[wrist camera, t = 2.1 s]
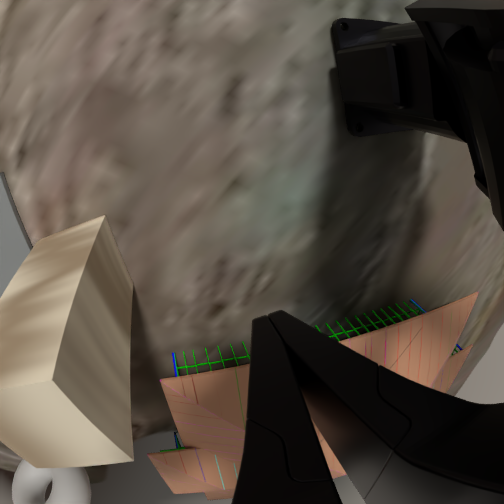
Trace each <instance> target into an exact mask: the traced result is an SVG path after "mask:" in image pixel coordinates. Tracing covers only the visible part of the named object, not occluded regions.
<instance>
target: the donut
mask: <svg viewBox="0 0 504 504" xmlns="http://www.w3.org/2000/svg"><path fill="white" fill-rule="evenodd" d="M51 480H53V486H52V492H51V494H50V497H49V498H48V500H47V501H46V503H45V498H44V497H45V491H46V488H47V486H48V484H49V483H50V481H51ZM12 499H13V502H14V504H90V499H91V488H90V481H89V477H88V474H87V472H86V470H85V468H84V467H68V468H35V467H34V466H32V465H31V464H30V463H28V462H27V461H25V460H24V459H23V460H22V461H21V462H20V464H19V466H18V468H17V470H16V472H15V475H14V480H13V484H12Z"/></svg>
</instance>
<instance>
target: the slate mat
mask: <svg viewBox="0 0 504 504" xmlns="http://www.w3.org/2000/svg"><path fill="white" fill-rule="evenodd" d="M32 249H33V247H32V245H31V242H30V240H29V238H28V236H27V233H26V231H25V229H24V226H23V224H22V222H21V219H20V217H19V214H18V212H17V209H16V207H15V204H14V202H13V199H12V196H11V193H10V191H9V188H8V185H7V182H6V179H5V176H4V173H3V172H2V173H0V298H1V296H2V294H3V293H4V291H5V289H6V288H7V286H8V285H9V283H10V281H11V280H12V278H13V277H14V275H15V274H16V272H17V271H18V269H19V267H20V266H21V264H22V263H23V262H24V260H25V259H26V257H27V256H28V254H29V253H30V251H31V250H32Z"/></svg>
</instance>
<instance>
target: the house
mask: <svg viewBox="0 0 504 504" xmlns="http://www.w3.org/2000/svg"><path fill="white" fill-rule="evenodd" d="M478 293H479V292H476V293H473V294H471V295H469V296H466V297H464V298H462V299H459V300H457V301H454V302H452V303H449V304H447V305H445V306H442V307H439V308H437V309H434V310H432V311H429V312H426V311H425V310H423V309H422V308H421V307H420V306H419V305H418V304H417V303H416V302H415V301H413V300H412V299H410V302H411V303H412V304H413V305H415V306H416V307H417V308H418V309H416V310H413V309H411V308H410V307H409V306H408V305H407V304H406V303H405V302H404V301H403V303H404V304H405V305H406V306H407V307H408V308H409V309H410V310H411V311H409V312H405V311H404V310H403V309H402V308H401V307H400V306H399V305H398V304H396V306H397V307H398V308H399V309H400V310H402V311H403V312H404V314H401V315H398V314H397V313H396V312H395V311H394V310H393V309H392V308H391V307H390V306H388V308H389V309H390V310H392V311H393V312H394V313H395V314H396V315H397V316H394V317H391V318H390V317H389V316H388V315H387V314H386V313H385V312H384V311H383V310H382V309H381V308H380V310H381V311H382V312H383V313H384V314H385V315H386V316H387V317H388V318H389V319H386V320H383V321H382V320H381V319H380V317H379V316H378V315H377V314H376V313H375V312H374V311H373V310H372V312H373V313H374V314H375V316H376V317H377V318H378V319H379V320H380V321H378V322H375V323H373V322H372V321H371V320H370V319H369V317H368V316H367V315H366V314H365V313H363V314H364V315H365V317H366V318H367V319H368V320H369V321H370V322H371V323H372V324H370V325H367V326H364V325H363V323H362V322H361V321H360V320H359V319H358V318H357V317H356V315H355V316H354V317H355V318H356V319H357V320H358V321H359V322H360V324H361V325H362V327H358V328H354V327H353V325H352V324H351V323H350V322H349V321H348V319H347V318H345V319H346V321H347V322H348V323H349V324H350V326H351V327H352V328H353V330H350V331H346V332H345V330H344V329H343V328H342V327H341V325H340V324H339V323H338V322H337V320H336V323H337V324H338V325H339V327H340V328H341V329H342V330H343V332H341V333H337V334H335V333H334V332H333V331H332V329H331V328H330V327H329V325H328V324H327V323H326V325H327V327H328V328H329V329H330V331H331V332H332V333H333V335H332V336H329V337H334V336H335V338H336V339H337V340H338V342H340V343H341V344H343V345H345V346H347V347H349V348H350V349H352V350H354V351H356V352H358V353H360V354H361V355H363V356H365V357H367V358H369V359H371V360H372V361H374V362H376V363H378V365H382V366H384V367H386V368H388V369H389V370H391V371H393V372H395V373H397V374H399V375H401V376H403V377H405V378H408V379H410V380H412V381H415V382H417V383H419V384H422V385H424V386H427V387H430V388H432V389H435V390H438V391H440V392H443V393H446V392H447V391H448V389H449V387H450V386H451V384H452V382H453V381H454V379H455V377H456V375H457V374H458V372H459V370H460V368H461V367H462V365H463V363H464V361H465V359H466V357H467V355H468V353H469V351H470V350H471V348H472V346H473V345H472V344H471V345H470V346H468V347H466V348H465V349H462V348H461V347H460V346H459V345H458V344H457V342H458V339H459V337H460V335H461V333H462V331H463V329H464V327H465V324H466V322H467V320H468V317H469V315H470V313H471V310H472V308H473V306H474V303H475V301H476V298H477V296H478ZM417 310H419V312H420V311H421V312H422V313H423V314H421V315H419V312H418V314H417V313H416V312H415V311H417ZM410 312H413V313H414V314H415V315H417V316H416V317H413V318H411V317H410V316H409V315H408V314H407V313H410ZM405 314H406V316H407V317H408V318H409V319H407V320H405V321H404V320H403V319H402V318H401V317H400V316H402V315H405ZM395 317H399V318H400V319H401V320H402V322H399V323H395V322H394V321H393V320H392V318H395ZM387 320H391V321H392V322H393V323H394V324H393V325H390V326H387V325H386V324H385V323H384V321H387ZM379 322H382V323H383V324H384V325H385V326H386V327H384V328H381V329H379V328H378V327H377V326H376V325H375V324H376V323H379ZM371 325H374V327H375V328H376V329H377V330H375V331H372V332H369V330H368V329H367V328H366V327H368V326H371ZM315 327H316V328H317V330H318V331H320V330H319V329H318V327H317V326H316V325H315ZM363 327H364V328H365V329H366V331H367V332H368V333H366V334H362V335H360V334H359V333H358V331H357V330H356V329H360V328H363ZM351 331H355V332H356V333H357V334H358V335H359V336H356V337H353V338H350V337H349V335H348V334H347V333H348V332H351ZM320 332H321V331H320ZM343 333H345V334H346V336H347V337H348V338H349V339H346V340H342V341H340V340H339V339H338V337H337V336H336V335H339V334H343ZM242 343H243V345H244V342H243V341H242ZM230 346H231V343H230ZM455 346H456V347H458V348H459V349H460V350H461V351H459V352H458V351H457V350H456V348H455ZM244 348H245V350H246V347H245V345H244ZM231 349H232V352H233V355H234V357H235V354H234V351H233V348H232V346H231ZM218 350H219V346H218ZM453 350H455V351H456V352H457V353H456V354H454V355H453V353H452V352H454V351H453ZM192 351H193V350H192ZM205 351H206V348H205ZM183 353H184V351H183ZM219 353H220V350H219ZM246 353H247V355H248V352H247V350H246ZM206 354H207V351H206ZM451 354H452V356H451ZM172 356H173V363H174V370H175V377H172V378H164V379H160V382H161V385H162V388H163V391H164V394H165V397H166V400H167V402H168V405H169V408H170V411H171V414H172V416H173V419H174V422H175V424H176V427H177V430H178V431H177V432H174V436H175V442H176V448H177V449H170V450H162V451H160V452H158V453H148V454H147V455H148V457H149V458H150V460H151V461H152V463H153V464H154V466H155V467H156V469H157V470H158V472H159V473H160V475H161V476H162V478H163V479H164V480H165V482H166V483H167V485H168V486H169V487H170V488H171V490H172V491H173V493H174V494H184V493H198V492H204V493H205V495H206V497H207V499H208V500H216V499H228V498H233V495H234V491H235V487H236V483H237V479H238V475H239V470H240V465H241V460H242V454H243V447H244V438H245V426H246V420H247V419H246V414H247V398H248V382H249V366H250V364H246V365H241V366H239V365H238V362H237V360H236V359H241V358H246V357H248V358H249V360H250V357H249V356H250V355H248V356H243V357H238V358H236V357H235V358H230V359H224V360H223V359H222V356H221V353H220V356H221V360H222V361H217V362H211V363H210V362H209V359H208V363H202V364H196V361H195V365H193V366H187V365H186V366H183V367H177V363H176V357H175V353H172ZM193 356H194V352H193ZM450 356H451V357H450ZM207 358H208V355H207ZM184 359H185V354H184ZM233 359H235V360H236V363H237V366H236V367H231V368H226V369H225V366H224V363H223V361H228V360H233ZM194 360H195V356H194ZM220 362H222V363H223V366H224V369H220V370H215V371H212V370H211V366H210V364H215V363H220ZM185 364H186V360H185ZM206 364H209V366H210V370H211V371H209V372H204V373H198V370H197V374H191V375H188V371H187V375H185V376H179V371H178V370H177V369H181V368H186V370H187V368H191V367H196V369H197V366H200V365H206ZM311 419H312V418H311ZM312 422H313V424H314V427H315V430H316V433H317V436H318V439H319V441H320V444H321V447H322V450H323V453H324V455H325V458H326V461H327V464H328V467H329V469H330V472H331V475H332V478H336V477H340V476H343V475H346V472H345V470H344V469H343V467H342V466H341V464H340V463H339V461H338V460H337V458H336V456H335V455H334V453H333V452H332V450H331V449H330V447H329V445H328V444H327V442H326V441H325V439H324V437H323V436H322V434H321V433H320V431H319V429H318V428H317V426H316V425H315V423H314V421H313V420H312ZM178 432H179V435H180V437H181V440H182V442H183V445H184V447H181V445H180V443H179V440H178V438H177V435H176V433H178Z"/></svg>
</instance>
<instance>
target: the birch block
mask: <svg viewBox="0 0 504 504" xmlns="http://www.w3.org/2000/svg"><path fill="white" fill-rule="evenodd" d="M132 297H133V281H132V279H131V277H130V275H129V272H128V270H127V268H126V265H125V263H124V261H123V258H122V256H121V253H120V251H119V249H118V246H117V244H116V241H115V239H114V236H113V234H112V231H111V228H110V226H109V223H108V221H107V218H106V215H104V216H101V217H98V218H95V219H92V220H90V221H87V222H84V223H81V224H79V225H76V226H73V227H71V228H68V229H66V230H63V231H60V232H58V233H55V234H53V235H50V236H48V237H45V238H43V239H40V240H38V242H37V243H36V244H35V246H34V247H33V249H32V250H31V251H30V253H29V254H28V256H27V257H26V259H25V260H24V262H23V263H22V264H21V266H20V267H19V269H18V271H17V272H16V274H15V275H14V277H13V278H12V280H11V281H10V283H9V285H8V286H7V288H6V289H5V291H4V293H3V294H2V296H1V298H0V441H1V442H3V443H4V444H5V445H6V446H7V447H9V448H10V449H11V450H12V451H14V452H15V453H16V454H18V455H19V456H20V457H21V458H23V459H24V460H25V461H27V462H28V463H30V464H31V465H32V466H34V467H35V468H68V467H84V466H96V465H106V464H114V463H122V462H129V461H134V454H133V441H132V424H131V400H130V339H131V314H132Z"/></svg>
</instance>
